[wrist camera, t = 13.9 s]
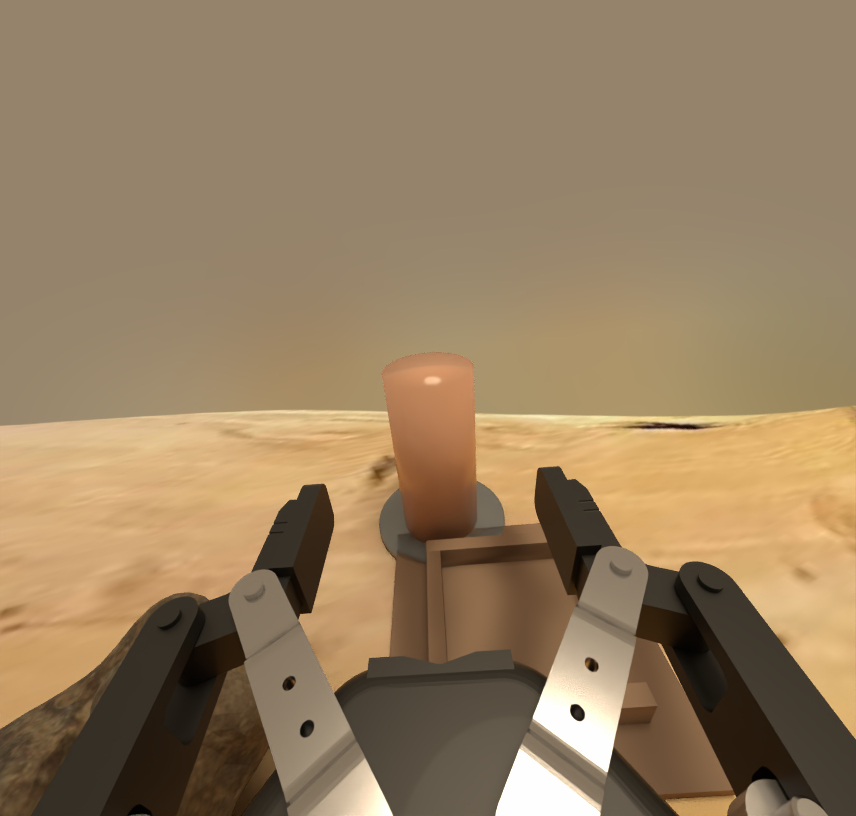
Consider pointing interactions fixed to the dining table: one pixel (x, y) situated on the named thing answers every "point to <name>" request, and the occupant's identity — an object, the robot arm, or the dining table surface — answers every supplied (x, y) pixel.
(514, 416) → the dining table surface
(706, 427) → the dining table surface
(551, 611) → the holder
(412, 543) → the grey disc
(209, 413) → the dining table surface
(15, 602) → the dining table surface
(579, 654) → the robot arm
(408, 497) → the peach orange tall mug
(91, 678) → the decorative stone
